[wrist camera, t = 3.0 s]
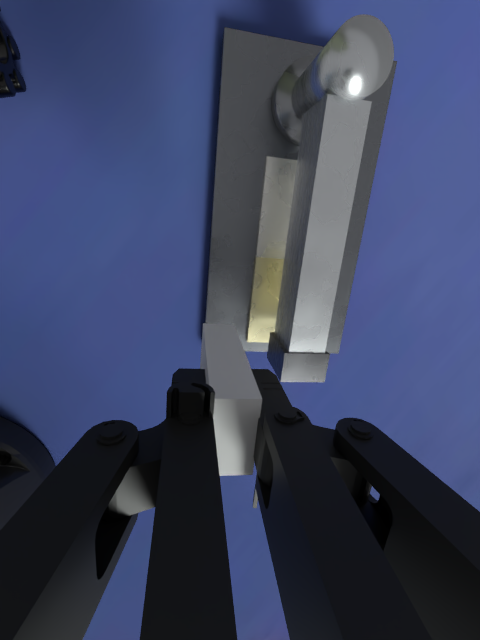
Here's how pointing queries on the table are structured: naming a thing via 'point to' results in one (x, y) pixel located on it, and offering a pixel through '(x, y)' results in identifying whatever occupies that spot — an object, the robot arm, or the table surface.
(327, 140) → the grey long bar
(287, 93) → the plate
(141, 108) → the table surface
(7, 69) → the valve
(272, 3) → the table surface
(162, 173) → the table surface
